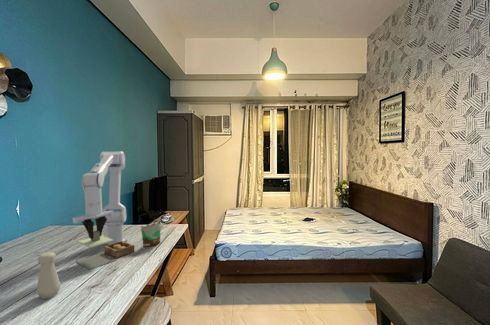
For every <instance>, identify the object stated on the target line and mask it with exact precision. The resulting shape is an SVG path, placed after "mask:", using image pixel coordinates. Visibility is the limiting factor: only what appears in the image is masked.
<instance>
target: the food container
mask: <svg viewBox="0 0 490 325" xmlns="http://www.w3.org/2000/svg"><path fill="white" fill-rule="evenodd" d="M162 227H163V224H162V222H161V220H159V219H154V221H153V222H151V223H148V224H147V225H146V226H145V225H144V226H143V225H142V226H141V227H140V232H141V236H142V247H143V248H153V247H156V246H158V245H159V244H160V243H161V230H162ZM152 246H153V247H152Z"/></svg>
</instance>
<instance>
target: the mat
mask: <svg viewBox="0 0 490 325" xmlns="http://www.w3.org/2000/svg"><path fill="white" fill-rule="evenodd" d="M116 261H117V258H114V257H112V256H110V255H108V254H105V253H102V252H101V253H99V254H95V255H93V256H92V255H91V256H89V257H86V258H83V259H80V260H77V261H75V262H76V264H79V265H80V266H82V267H84V268H85V269H88V271H89V270H90V271H91V270H93V269H96V268H99V267H102V266H105V265H108V264H110V263H114V262H116Z"/></svg>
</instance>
